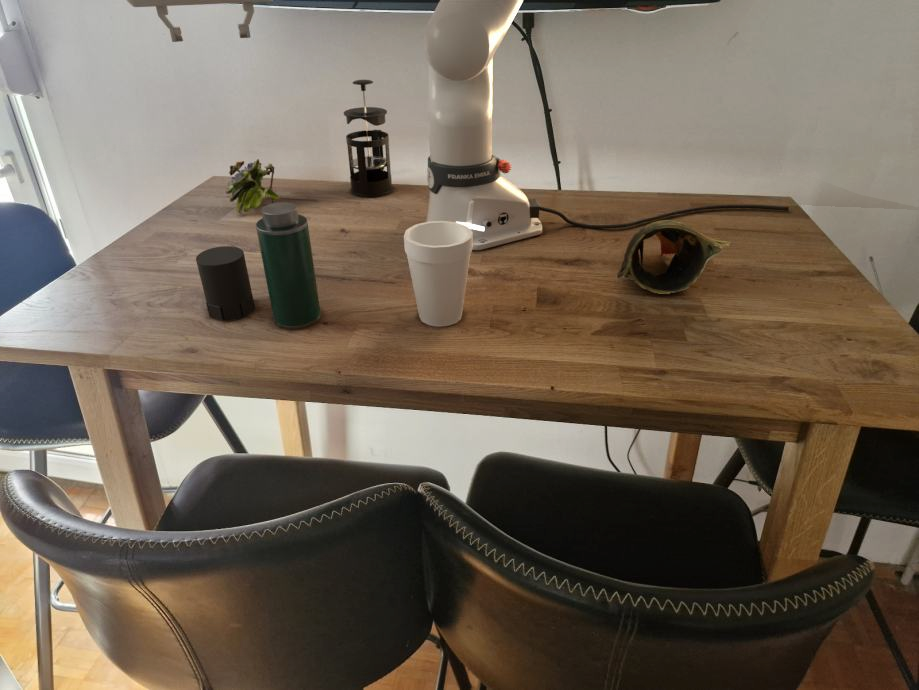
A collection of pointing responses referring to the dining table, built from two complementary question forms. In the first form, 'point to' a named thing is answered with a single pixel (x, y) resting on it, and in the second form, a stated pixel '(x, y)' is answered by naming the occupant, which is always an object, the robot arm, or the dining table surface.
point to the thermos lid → (225, 283)
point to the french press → (369, 168)
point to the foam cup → (439, 269)
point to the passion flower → (250, 185)
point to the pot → (674, 240)
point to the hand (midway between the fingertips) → (212, 39)
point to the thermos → (288, 266)
